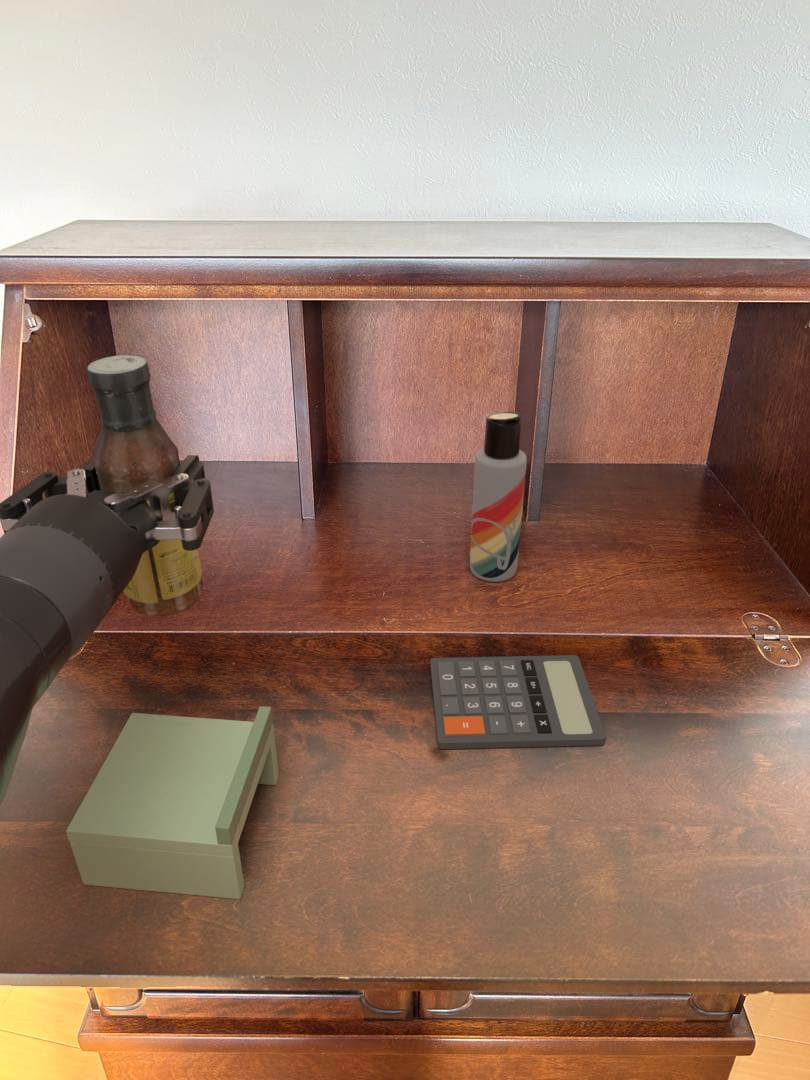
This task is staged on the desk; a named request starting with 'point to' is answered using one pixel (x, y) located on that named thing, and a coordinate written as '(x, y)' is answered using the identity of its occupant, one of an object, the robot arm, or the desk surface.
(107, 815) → the shelf
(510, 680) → the calculator
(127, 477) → the sauce bottle
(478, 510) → the lotion bottle
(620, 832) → the desk surface
